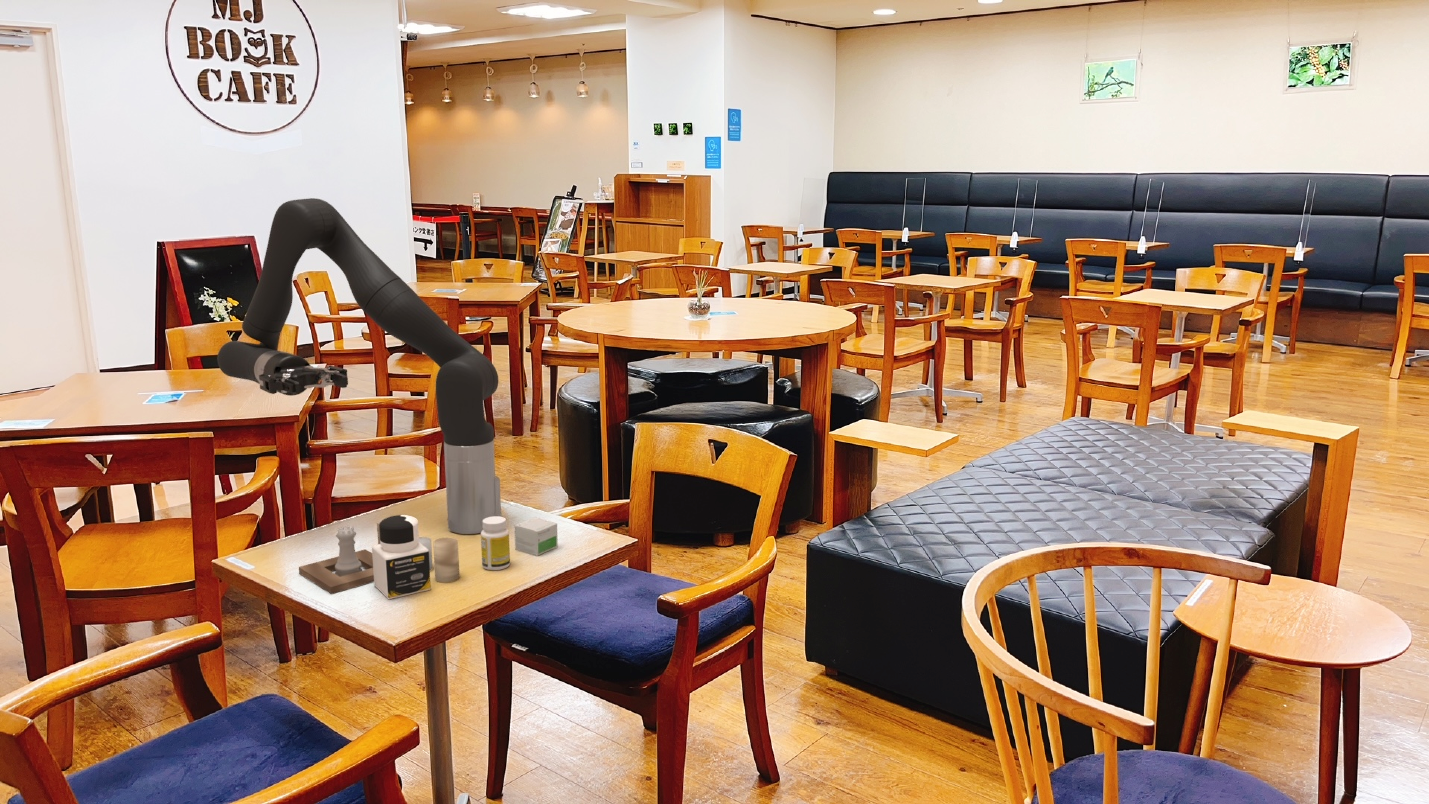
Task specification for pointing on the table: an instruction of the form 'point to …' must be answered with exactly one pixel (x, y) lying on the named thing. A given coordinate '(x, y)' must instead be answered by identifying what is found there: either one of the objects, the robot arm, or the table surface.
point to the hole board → (333, 583)
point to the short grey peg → (427, 544)
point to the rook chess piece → (347, 553)
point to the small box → (536, 536)
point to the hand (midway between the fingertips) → (321, 385)
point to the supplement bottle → (495, 543)
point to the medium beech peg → (446, 560)
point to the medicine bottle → (400, 558)
